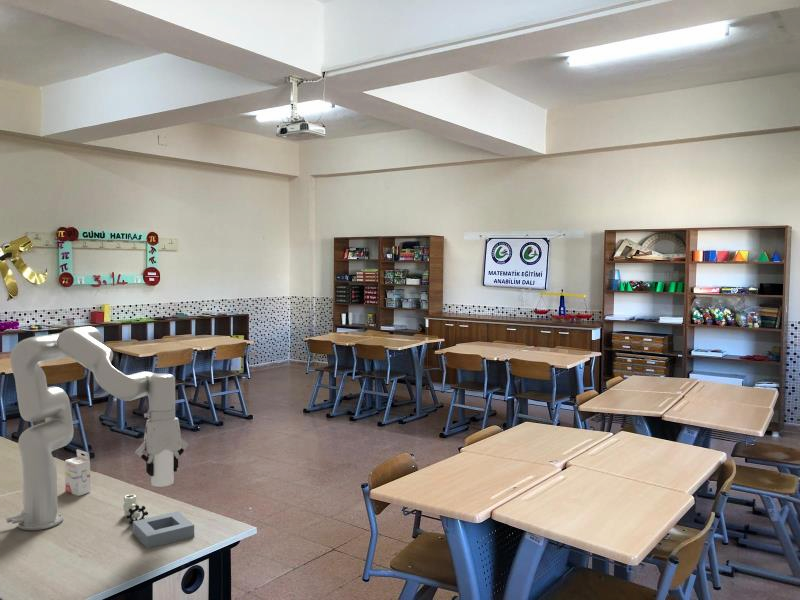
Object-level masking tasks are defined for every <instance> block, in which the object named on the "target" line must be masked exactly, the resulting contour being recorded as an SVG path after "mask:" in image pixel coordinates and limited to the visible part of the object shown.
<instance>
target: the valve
mask: <svg viewBox="0 0 800 600" xmlns="http://www.w3.org/2000/svg"><path fill="white" fill-rule="evenodd" d="M123 501H124V503H123V504H122V505H123V506H122V507H123V510H124V515H123V516H124V517H125V518H126V519H127V520H129V521H128V524H129V525H132V526H133V521H137V520H141V519H146V518H145V517H146V516H149V512H148V511H147V510H146V506H145V505H141V507H140V506H139V504H138V503H137V496H136V494H125V496H124V497H123ZM141 512H142V513H141ZM140 516H141V517H140ZM133 518H134V519H133ZM138 518H139V519H138Z"/></svg>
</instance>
